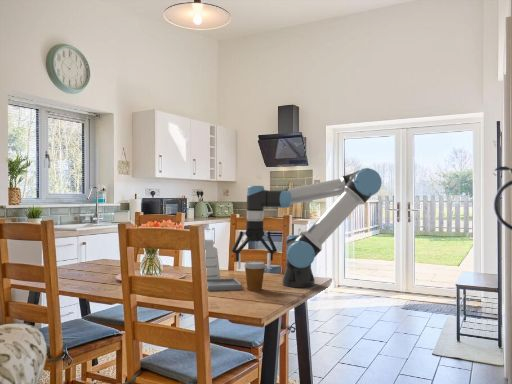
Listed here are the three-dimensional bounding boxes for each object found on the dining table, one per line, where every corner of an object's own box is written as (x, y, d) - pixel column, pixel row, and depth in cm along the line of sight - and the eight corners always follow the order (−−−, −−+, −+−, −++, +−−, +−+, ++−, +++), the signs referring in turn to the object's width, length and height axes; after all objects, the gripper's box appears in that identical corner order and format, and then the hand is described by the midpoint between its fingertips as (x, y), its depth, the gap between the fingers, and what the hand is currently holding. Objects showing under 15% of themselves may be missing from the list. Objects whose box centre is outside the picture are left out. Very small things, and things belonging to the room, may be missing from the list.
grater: (198, 282, 210) (199, 240, 211) (196, 278, 220) (196, 238, 221) (220, 281, 213) (220, 240, 213) (216, 277, 223) (217, 238, 223)
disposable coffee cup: (261, 292, 189) (261, 264, 189) (240, 291, 192) (240, 263, 192) (268, 288, 198) (268, 261, 198) (248, 286, 201) (248, 260, 201)
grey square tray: (235, 283, 209) (235, 278, 209) (241, 289, 195) (241, 284, 195) (203, 284, 206) (203, 279, 206) (208, 291, 191) (208, 285, 191)
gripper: (279, 220, 202) (278, 266, 201) (225, 219, 196) (224, 267, 195) (284, 221, 194) (283, 269, 194) (228, 220, 188) (227, 270, 188)
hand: (254, 268), depth 195 cm, fingers open, 13 cm apart
